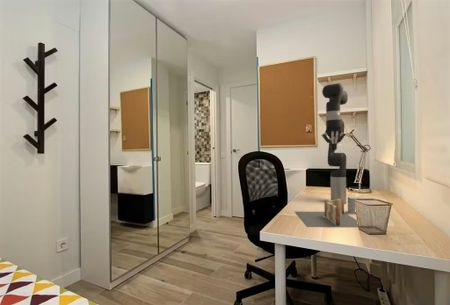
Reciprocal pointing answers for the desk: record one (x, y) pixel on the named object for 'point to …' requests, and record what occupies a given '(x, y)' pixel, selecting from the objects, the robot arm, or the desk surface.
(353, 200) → the medicine box
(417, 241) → the desk surface
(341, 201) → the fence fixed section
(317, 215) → the board
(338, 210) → the fence swing section
